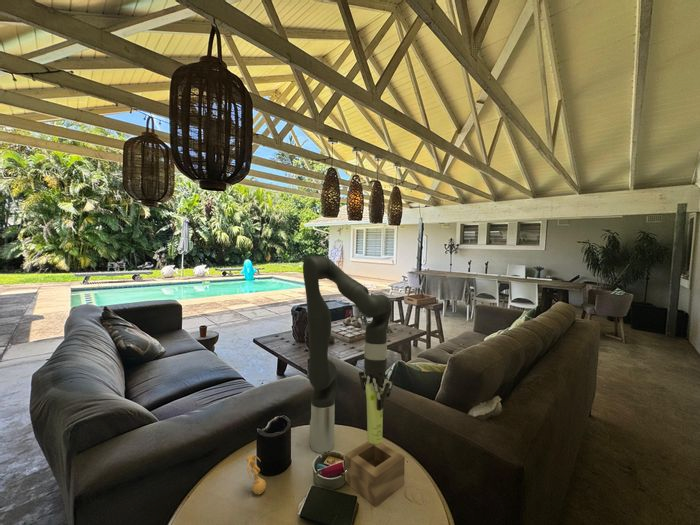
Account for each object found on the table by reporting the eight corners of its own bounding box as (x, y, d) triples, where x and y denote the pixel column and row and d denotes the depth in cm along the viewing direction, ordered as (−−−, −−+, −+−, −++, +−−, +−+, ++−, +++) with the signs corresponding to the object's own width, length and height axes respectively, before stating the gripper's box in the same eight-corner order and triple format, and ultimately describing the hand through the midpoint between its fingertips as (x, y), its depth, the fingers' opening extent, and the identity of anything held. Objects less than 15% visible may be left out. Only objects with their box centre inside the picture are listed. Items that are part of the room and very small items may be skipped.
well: (344, 481, 99) (344, 454, 99) (373, 462, 108) (373, 438, 108) (375, 507, 88) (375, 477, 88) (404, 484, 98) (404, 456, 98)
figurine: (260, 503, 89) (261, 463, 89) (241, 502, 90) (241, 462, 90) (269, 483, 98) (270, 446, 98) (251, 482, 98) (252, 445, 98)
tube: (380, 447, 95) (380, 386, 95) (365, 444, 96) (365, 384, 96) (383, 437, 100) (384, 379, 100) (369, 434, 102) (369, 377, 102)
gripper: (352, 352, 101) (352, 402, 101) (384, 363, 91) (383, 419, 91) (368, 348, 106) (367, 396, 106) (399, 358, 96) (399, 411, 96)
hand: (374, 406), depth 98 cm, fingers closed on tube, 4 cm apart
